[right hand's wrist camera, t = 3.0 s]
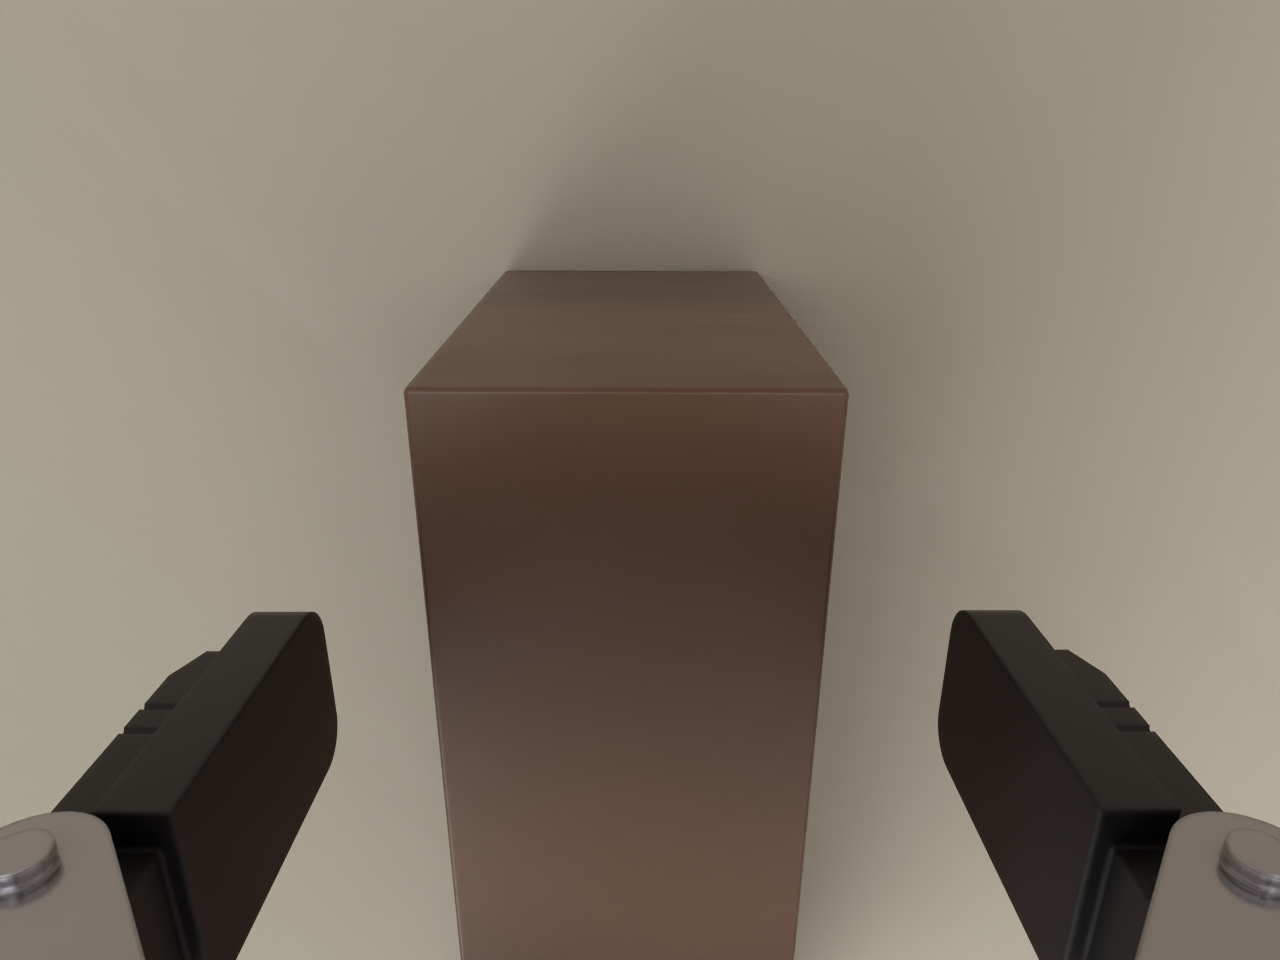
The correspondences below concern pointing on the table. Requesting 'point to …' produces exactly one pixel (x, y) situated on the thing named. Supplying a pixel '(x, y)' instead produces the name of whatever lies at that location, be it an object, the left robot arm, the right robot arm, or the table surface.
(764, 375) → the bar
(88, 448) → the table surface
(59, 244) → the table surface
